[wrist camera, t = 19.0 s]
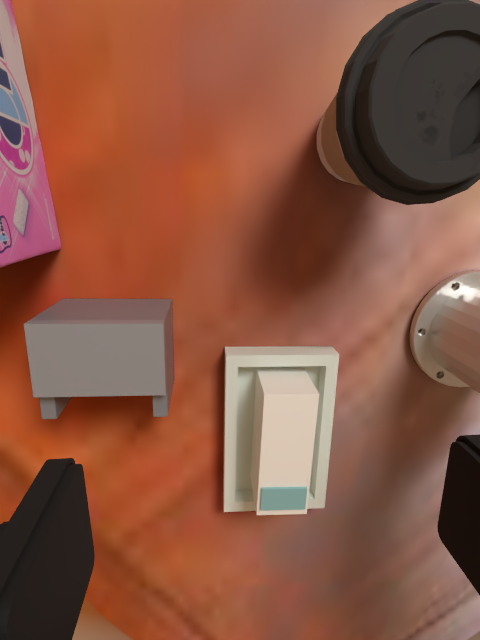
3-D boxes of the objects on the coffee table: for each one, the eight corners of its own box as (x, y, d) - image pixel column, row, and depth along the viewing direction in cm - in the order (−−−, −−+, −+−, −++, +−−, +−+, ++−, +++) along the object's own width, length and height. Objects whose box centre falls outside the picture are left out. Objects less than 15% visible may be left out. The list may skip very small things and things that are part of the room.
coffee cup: (378, 224, 39) (479, 235, 24) (272, 174, 37) (314, 154, 22) (437, 105, 36) (588, 40, 22) (327, 45, 34) (414, -71, 20)
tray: (331, 346, 42) (339, 354, 40) (318, 492, 47) (324, 507, 45) (224, 346, 41) (225, 355, 39) (223, 496, 46) (223, 512, 44)
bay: (172, 299, 39) (163, 323, 31) (174, 379, 42) (166, 422, 33) (62, 298, 38) (23, 324, 30) (70, 381, 41) (37, 425, 33)
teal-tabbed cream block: (303, 368, 42) (320, 395, 36) (294, 474, 45) (307, 516, 39) (256, 367, 41) (264, 395, 35) (250, 475, 45) (256, 517, 39)
